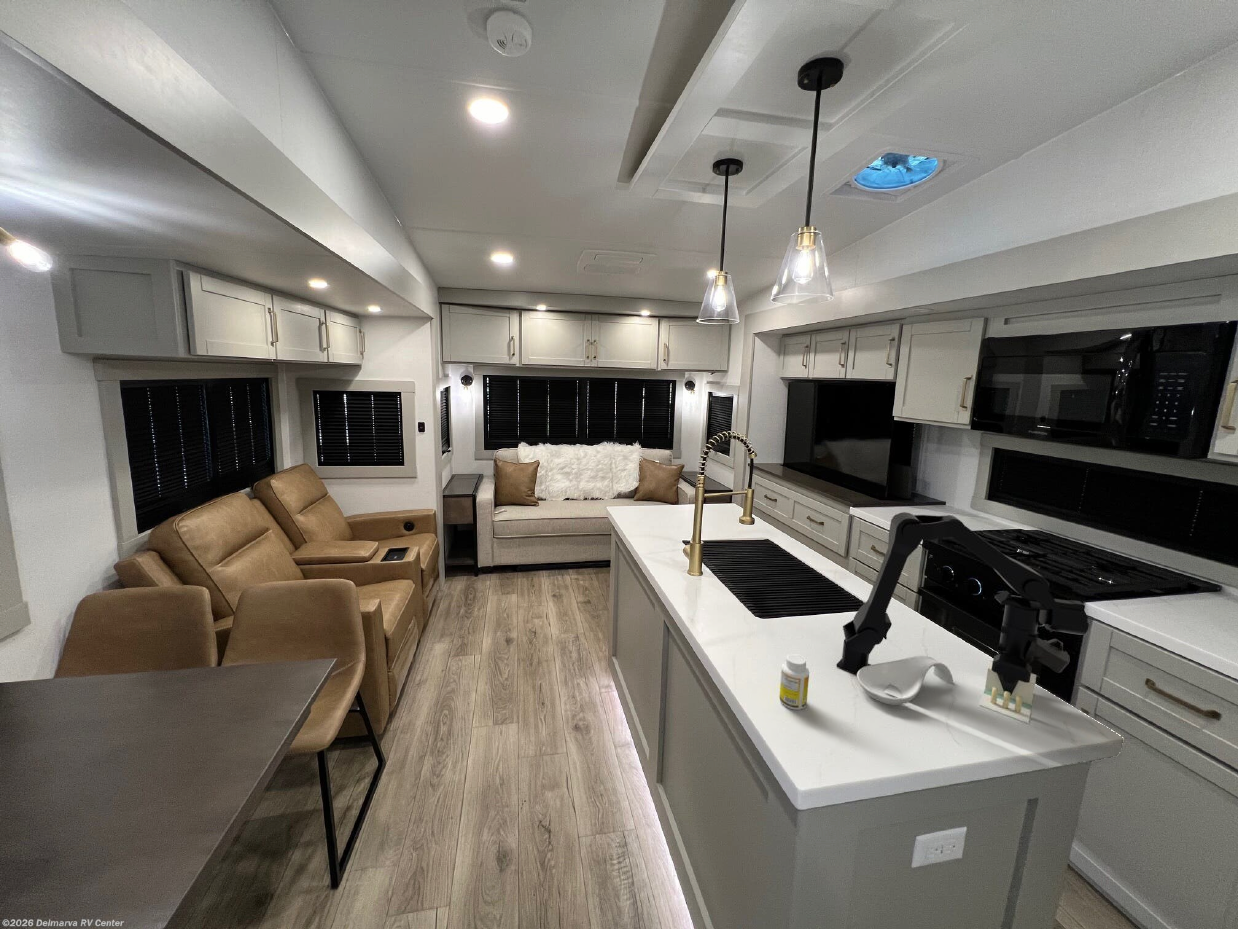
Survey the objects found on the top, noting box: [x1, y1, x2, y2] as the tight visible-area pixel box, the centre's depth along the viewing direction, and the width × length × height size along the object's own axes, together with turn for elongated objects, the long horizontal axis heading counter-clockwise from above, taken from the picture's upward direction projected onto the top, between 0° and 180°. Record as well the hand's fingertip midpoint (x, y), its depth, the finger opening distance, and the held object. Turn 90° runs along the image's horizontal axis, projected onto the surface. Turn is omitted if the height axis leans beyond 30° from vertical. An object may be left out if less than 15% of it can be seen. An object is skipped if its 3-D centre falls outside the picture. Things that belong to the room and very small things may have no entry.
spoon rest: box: [856, 654, 954, 706], centre depth 108 cm, size 24×12×7 cm, turn 109°
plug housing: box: [984, 660, 1037, 706], centre depth 106 cm, size 4×8×5 cm, turn 47°
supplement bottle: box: [779, 653, 810, 711], centre depth 103 cm, size 6×6×10 cm
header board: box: [979, 687, 1032, 725], centre depth 104 cm, size 14×8×5 cm, turn 137°
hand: (1008, 690), depth 107 cm, fingers closed on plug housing, 4 cm apart
